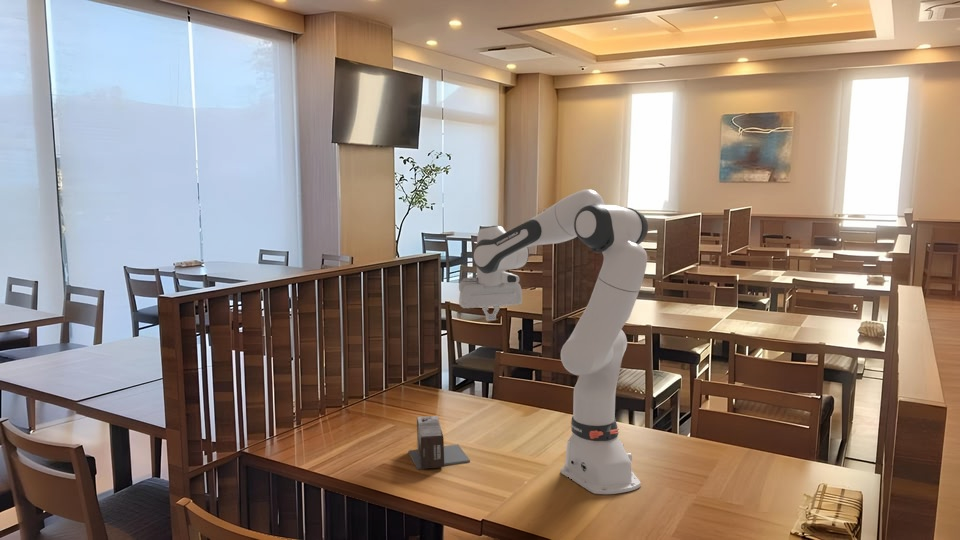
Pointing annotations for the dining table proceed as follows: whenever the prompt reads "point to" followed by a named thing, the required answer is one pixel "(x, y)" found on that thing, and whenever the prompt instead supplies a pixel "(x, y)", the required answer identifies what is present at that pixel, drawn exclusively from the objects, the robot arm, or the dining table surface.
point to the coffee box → (430, 442)
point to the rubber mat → (451, 456)
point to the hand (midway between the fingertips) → (490, 320)
